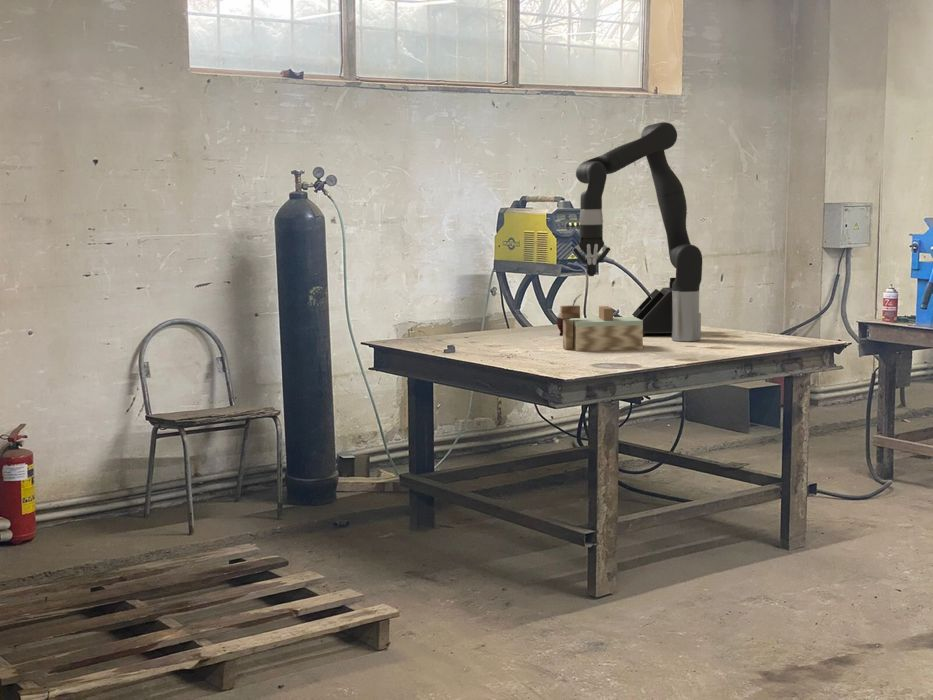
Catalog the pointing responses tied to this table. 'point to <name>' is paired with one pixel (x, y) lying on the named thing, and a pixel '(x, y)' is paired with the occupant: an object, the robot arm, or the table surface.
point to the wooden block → (570, 312)
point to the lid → (606, 319)
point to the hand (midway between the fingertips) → (591, 276)
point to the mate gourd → (560, 320)
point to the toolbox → (602, 337)
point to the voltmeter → (657, 311)
